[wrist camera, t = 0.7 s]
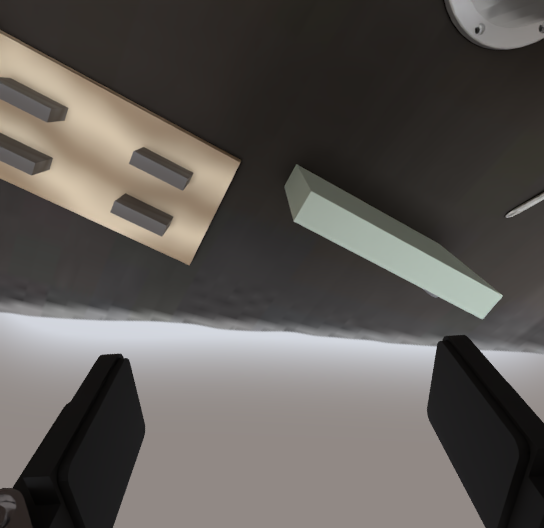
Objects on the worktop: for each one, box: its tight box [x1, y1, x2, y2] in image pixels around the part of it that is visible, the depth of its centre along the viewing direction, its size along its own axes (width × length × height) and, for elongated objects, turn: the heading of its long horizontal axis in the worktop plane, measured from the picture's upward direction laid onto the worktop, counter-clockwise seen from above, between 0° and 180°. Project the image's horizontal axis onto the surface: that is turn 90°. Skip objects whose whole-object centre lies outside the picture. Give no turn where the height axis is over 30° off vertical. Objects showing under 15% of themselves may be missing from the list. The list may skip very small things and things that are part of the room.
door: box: [284, 164, 503, 319], centre depth 34 cm, size 4×18×12 cm, turn 61°
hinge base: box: [0, 30, 241, 265], centre depth 27 cm, size 12×24×20 cm, turn 62°
